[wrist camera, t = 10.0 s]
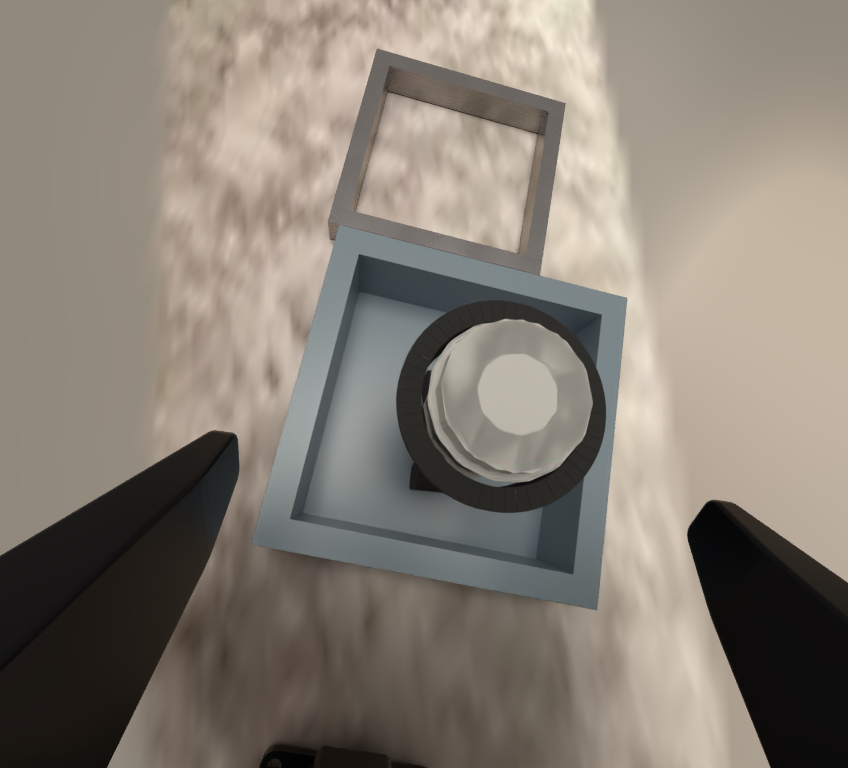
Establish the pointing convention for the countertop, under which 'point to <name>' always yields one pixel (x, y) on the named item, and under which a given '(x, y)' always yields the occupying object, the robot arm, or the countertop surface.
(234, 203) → the countertop surface
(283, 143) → the countertop surface
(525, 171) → the countertop surface
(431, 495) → the plastic bin
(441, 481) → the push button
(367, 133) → the silver picture frame
